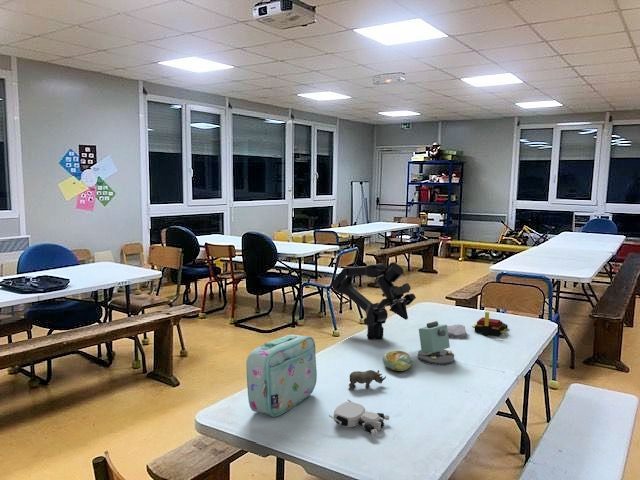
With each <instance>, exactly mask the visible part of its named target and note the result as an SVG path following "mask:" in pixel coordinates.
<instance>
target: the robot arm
mask: <svg viewBox="0 0 640 480" xmlns="http://www.w3.org/2000/svg"><path fill="white" fill-rule="evenodd" d="M403 274H404V268H403V267H402V266H401V265H400V264H398V263H396V262H395V261H393V262H390V263H389V265H388V266H385V265H384V263H373V264H370V265H366V266H347V267H346V266H345V267H343V268H342V269H341V271H340V272H339V273H338V274H337V275H336V276H335V278H334V279H333V281H332V284H331V286H332V290H334V291H335V292H337V293H339V294H341V295H345V296H346V297H347V298H349V299H350V300H351V301H352V302H353V303H355V304H356V305H357V306H358V307H359V308H360V309H362V310H363V311H364V312H365V318H364V319H363V323H364V325H365V326H366V327H367V329H366V331H367V333H366V338H367V340H383V338H384V326H383V324H386V323H387V319H388V311H387V309H386V307H389V306H390V307H389V311H390V312H393V313H394V314H396V315H398V316H399V317H400V318H402V319H404V320H408V319H409V315H408V312H407V306H409V305H410V304H412V303H413V301H414V300H416V298H417V297H416V295H415V294H414V293H410V291H411V285H410V284H409V283H408V282H407V283H403V284H402V285H400V286H398V285H395V284H394V283H395V282H397V280H399V279H400V277H402V275H403ZM354 276H366V277H367V278H372V279H374V278H377V279H374V284H373V286H374V287H377V286H378V287H379V288H380V290H381V292H382V294H381V295H382V297H383V299H381V301H379V302H375V303H372V301H370V300H369V299H368V298H366V297H365V296H364V295H363V294H362V293H360V292H359V291H358V290H356V288H354V286H353V283H352V281H353V280H354V278H353V277H354ZM384 297H385V298H384Z"/></svg>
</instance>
